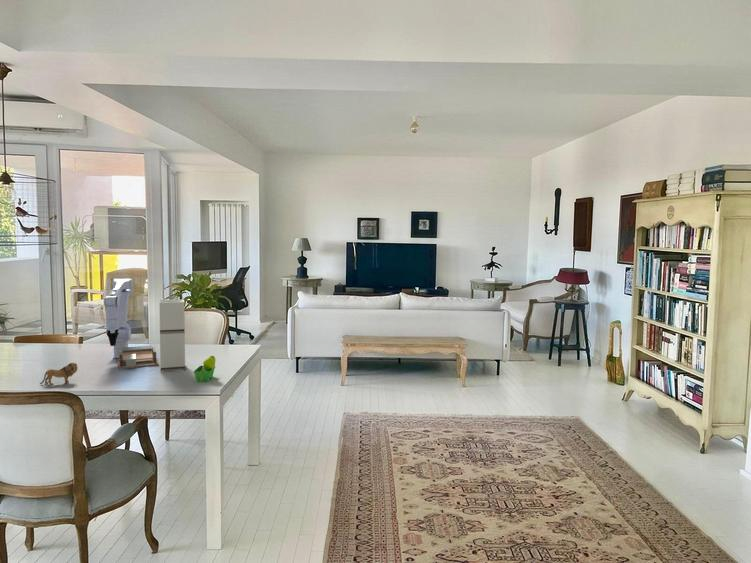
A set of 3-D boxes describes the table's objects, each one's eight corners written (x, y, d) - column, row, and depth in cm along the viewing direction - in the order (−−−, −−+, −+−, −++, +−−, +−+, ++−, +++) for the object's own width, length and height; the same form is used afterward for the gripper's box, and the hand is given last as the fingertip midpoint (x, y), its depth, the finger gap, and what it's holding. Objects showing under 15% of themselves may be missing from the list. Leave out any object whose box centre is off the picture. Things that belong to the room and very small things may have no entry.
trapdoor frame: (117, 361, 266) (116, 349, 266) (156, 358, 275) (156, 346, 275) (117, 369, 251) (117, 356, 250) (159, 365, 260) (158, 353, 259)
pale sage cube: (125, 355, 255) (125, 359, 250) (135, 354, 257) (135, 358, 253) (125, 362, 256) (126, 367, 252) (135, 361, 258) (135, 366, 254)
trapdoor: (122, 352, 264) (122, 347, 263) (151, 350, 271) (151, 345, 270) (123, 363, 257) (123, 358, 255) (152, 360, 263) (152, 355, 262)
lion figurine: (78, 379, 231) (77, 361, 231) (77, 382, 227) (77, 363, 226) (40, 383, 224) (39, 364, 224) (39, 386, 220) (38, 367, 219)
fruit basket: (200, 375, 243) (199, 353, 242) (218, 375, 243) (218, 353, 242) (193, 382, 231) (192, 358, 231) (212, 382, 232) (212, 358, 231)
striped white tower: (184, 365, 262) (184, 299, 259) (185, 370, 252) (184, 301, 249) (161, 366, 257) (160, 299, 254) (160, 372, 248) (159, 302, 245)
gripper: (103, 317, 264) (104, 342, 265) (103, 321, 251) (104, 347, 252) (118, 316, 267) (119, 341, 268) (119, 320, 254) (119, 346, 255)
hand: (112, 344), depth 260 cm, fingers open, 7 cm apart
